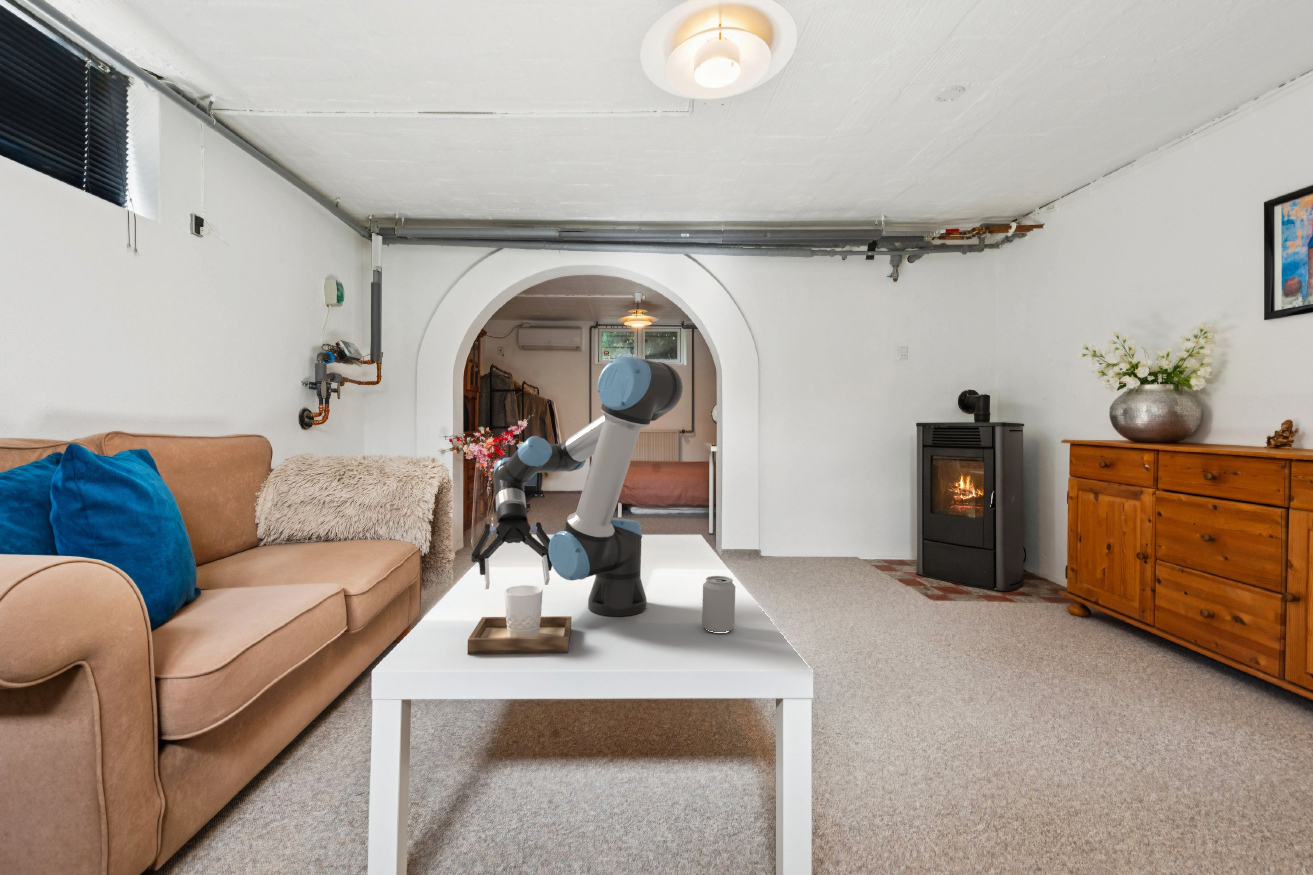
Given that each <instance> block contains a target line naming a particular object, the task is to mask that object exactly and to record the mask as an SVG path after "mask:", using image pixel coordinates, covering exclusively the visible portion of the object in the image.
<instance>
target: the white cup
mask: <svg viewBox="0 0 1313 875" xmlns="http://www.w3.org/2000/svg"><path fill="white" fill-rule="evenodd" d="M543 591H544V590H543V588H542V587H541V586H537V585H531V584H530V585H529V584H528V585H527V584H525V585H521V584H520V585H515V586H511V587H509V588H508V587H507V588H506V589H505V590H504V595H505V598H504V599H505V617H506V625H507V637H538V636H539V629H540V622H541V617H542V606H543V593H544V592H543Z"/></svg>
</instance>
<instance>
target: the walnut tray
mask: <svg viewBox="0 0 1313 875" xmlns="http://www.w3.org/2000/svg"><path fill="white" fill-rule="evenodd" d="M572 619H573V618H572V615H571V616H569V615H567V616H565V615H564V616H557V615H555V616H541V622H540V629H539V636H538V637H507V625H506V616H482V617H481V618H480V619H479V621H478V623H477V624H476V626H475V628H474V629H473V631H472V632H471V634H470V635H469V637H468V638H467V654H469V655H522V654H523V655H527V654H529V655H530V654H535V655H536V654H538V655H539V654H540V655H541V654H568V652H569V646H570V639H571V634H572Z"/></svg>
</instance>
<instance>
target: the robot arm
mask: <svg viewBox="0 0 1313 875" xmlns="http://www.w3.org/2000/svg"><path fill="white" fill-rule="evenodd" d="M596 388H597V390H596V391H597V392H598V393H599V394H598V398H599V400H600V401H601V403H602V404H601V406H600V412H601V413H602V415H600V416H599V417H597V418H596V419H595V420H593V421H591V422H590V423H589V424H587V425H586V426H584V427H582V428H581V429H580V430H579V431H577V432H576V433H574V434H572V435H571V436H570V437H568V438H567V439H565V440H564V441H562V442H561V443H559V444H558V443H556V444H555V443H552V444H550V443H549V442H548V441H547V440H546V439H545V438H543V437H540V436H538V435H533V436H530V437H528V438H527V439H526V440H525V441H524V442H523V443H522V444H521V445H519V447H518V449H517V450H516V451H514V453H513V454H512V456H511V457H503V458H502V459H500V460H498V461H497V462H496V463H495V464H494V466H493V467H494V468H493V482H494V483H493V484H494V495H495V511H496V512H495V514H496V526H492V525H491V524H489V523H486V524H484V532H483V533H482V535H481V536H480V539H479V541H478V542H477V543H476V546H475V547H474V549H473V551H472V553H471V555H470V556H471V558H470V561H471V562H472V563H478V566H479V575H480V576H484V589H485V590H489V589H490V585H491V584H490V580H491V579H490V566H489V565H490V564H489V562H490V560H489V558H490V557H491V556H492V555H493V554H494V553H495V552H496V551H497V549H499V548H500V547H501V546H502V545H503V544H504V543H506V544H513V543H515V544H520V543H522V542H523V544H525V545H526V546H528V547H530V548H531V549H532V550H533V551H534V552H535V553H537V554H538V555H539V556H540V557H541V558H542V560H541V564H542V572H543V581H544V585H545V586H548V585H549V583H550V571H552V569H554V570H553V571H555V573H557V574H558V576H560V577H561V578H563V579H564V580H566V581H577V580H580V581H581V580H585V579H586V578H589V577H592V576H595V578H594V581H593V584H592V587H591V590H590V592H589V595H588V601H587V602H588V603H587V609H588V610H589V611H590V612H592V613H594V614H596V615H602V616H607V617H627V616H634V615H639V614H641V613H643V612H645V611H646V610H645V609H647V608H646V607H647V604H648V603H647V602H648V601H647V596H646V593H645V588H644V585H643V582H642V579H641V574H642V573H641V570H642V569H641V567H642V538H643V534H642V525H641V523H640V522H639V521H637V520H634V519H628V518H627V519H626V518H619V517H614V514H615V510H616V508H617V505H618V500H620V499H619V498H620V495H621V492H622V489H623V487H624V483H625V480H626V477H627V473H628V471H629V468H630V465H631V461H632V458H633V454H634V451H635V449H636V445H637V443H638V440H639V437H640V433H641V430H643V429H644V428H647V427H648V426H650V423H651V422H655V421H657V420H659V419H660V418H661V417H663V416H664V415H667V413H669V412H671V411H672V410H673V409H674V408H676V406H677V405H678V404H679V403H680V401H681V398H682V394H683V392H684V391H683V390H684V389H683V388H684V386H683V381H682V378H681V376H680V374H679V373H678V371H677V370H676V369H675V368H674V367H673V366H671V365H669V364H667V363H665V362H660V361H653V360H651V359H650V360H649V359H645V358H640V357H636V356H620V357H617V358H614V359H613V360H611V361H609V362H608V363H607V364H606V365H605V366H604V367H603V369H602V370H601V372H600V374H599V377H598V380H597V387H596ZM591 457H592V459H591V463H590V465H589V469H588V472H587V476H586V479H585V481H584V485H583V487H582V491H581V495H580V498H579V502H578V505H577V508H576V511H575V512H573V513H571V514H569V515H568V516H567V518H566V522H565V525H564V528H563V530H560V531H557V533H554V534H553V535H552V536H551V538H550V537H549V536H548V535H547V533H546V532H545V530H543V526H542V523H541V521H540V522H539V521H538V522H536V523H535V524H532V525H530V524H529V521H528V510H527V503H526V502H527V501H526V492H525V485H526V484H527V483H528V482H529V481H530V480H531V479H532V478H533V477H534V476H535V475H537V473H555V472H557V473H558V472H574V471H578V470H580V469H582V468H583V467H584V465H585V463H586V461H587V459H589V458H591ZM530 531H531V532H532V533H533V534H534V535H536V537H537V538H538V540H537V538H535V537H533V535H532V534H531V533H530ZM494 533H496V535H497V536H496V538H495V539H494V540H493V541H492V542H491V543H490V544H489V545H488V547H486V549H484V548H485V546H486V544H487V543H488V541H489V537H491V536H492V535H493V534H494ZM483 549H484V550H483ZM482 551H483V552H482ZM644 610H645V611H644Z"/></svg>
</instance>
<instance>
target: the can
mask: <svg viewBox="0 0 1313 875" xmlns="http://www.w3.org/2000/svg"><path fill="white" fill-rule="evenodd" d="M705 580H706V581H704V583H703V584H702V612H701V613H702V614H701V615H702V617H701V622H702V624H701V626H702V627H703V629H705V630H706V629H707V630H709V631H713V632H726V631H730V630H731V631H732V630H733V629H735V622H736V620H735V619H736V618H735V616H736V615H735V614H736V585H735V584H734V583H733V581H734V579H733V578H731V577H729V576H726V575H725V576H724V575H712V576H707V577H706V578H705ZM731 631H730V632H731Z"/></svg>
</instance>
